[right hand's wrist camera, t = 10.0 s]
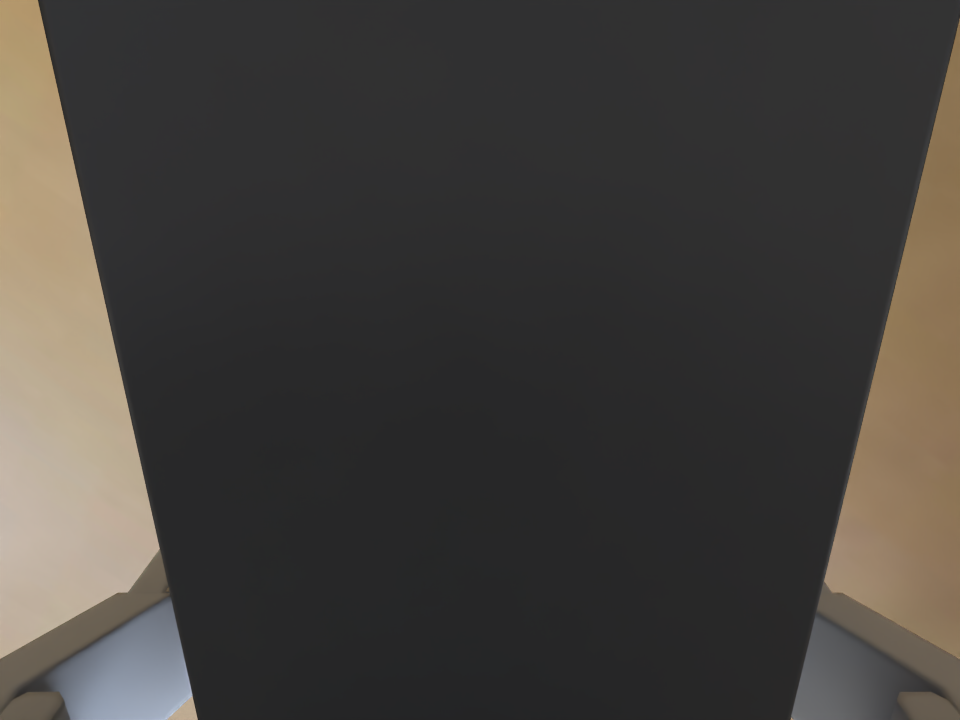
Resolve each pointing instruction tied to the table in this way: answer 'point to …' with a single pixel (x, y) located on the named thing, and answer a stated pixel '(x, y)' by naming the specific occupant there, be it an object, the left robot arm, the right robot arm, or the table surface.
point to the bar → (497, 333)
